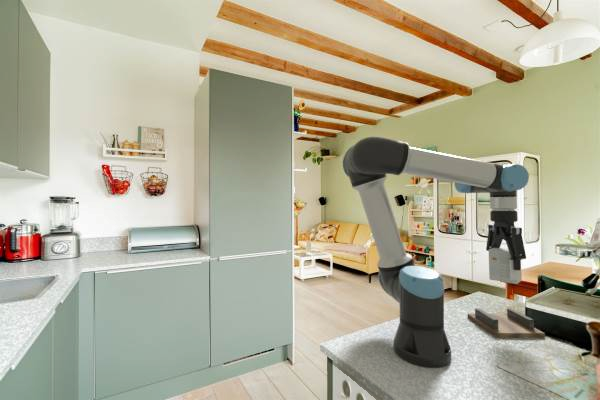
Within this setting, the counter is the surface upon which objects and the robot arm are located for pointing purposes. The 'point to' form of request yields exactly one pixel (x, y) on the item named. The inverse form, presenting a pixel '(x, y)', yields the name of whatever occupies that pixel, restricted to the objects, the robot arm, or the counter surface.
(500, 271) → the small box
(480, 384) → the counter surface
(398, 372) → the counter surface
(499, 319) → the mounting plate
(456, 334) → the counter surface
